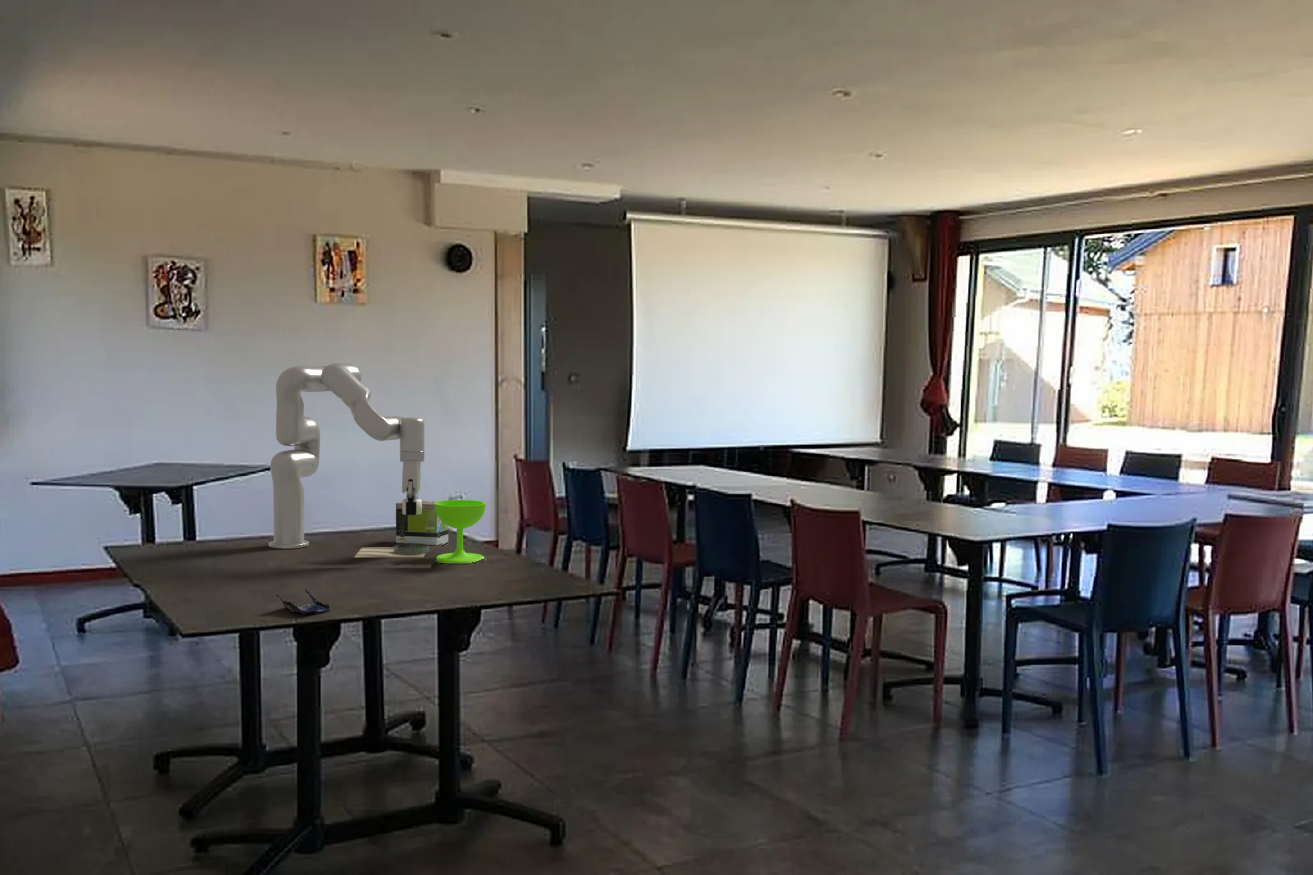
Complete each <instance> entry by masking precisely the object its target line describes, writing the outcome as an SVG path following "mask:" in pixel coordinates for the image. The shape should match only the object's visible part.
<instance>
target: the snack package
mask: <svg viewBox="0 0 1313 875" xmlns="http://www.w3.org/2000/svg"><path fill="white" fill-rule="evenodd" d="M303 590H304V589H302V591H303ZM304 591H305V593H306V594H308V596H309V598H310V600H311V601H312V603H308V604H305V605H302V606H297V605H295V601H293V602H292V601H286V600H283V599H282V598H281V596H280V595H279V594H277V593H276V594H275V595H276V596H275V597H277V599H278V600H279V602H280V604H282V606H283V607H284V609H288V610H289V611H292V612H294V613H302V615H305V614H307V613H314V614H315V615H319V614H325V613H326V612H329V611H331V608H330V605H329V604H323V603H322V602H320V601H318V600H317V598H316V597H315V596H314V595H313V593H312V592H310V590H309V589H308V588H305V590H304ZM289 597H290V598H292V596H291V595H290V596H289Z"/></svg>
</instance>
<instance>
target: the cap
mask: <svg viewBox="0 0 1313 875" xmlns="http://www.w3.org/2000/svg"><path fill="white" fill-rule="evenodd" d="M422 501H423V499H422V498H419V497H418V498H416V501H415V502H416V515H419V514H422ZM402 502H403V514H404V515H406V498H403V499H402Z"/></svg>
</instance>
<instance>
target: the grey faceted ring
mask: <svg viewBox="0 0 1313 875" xmlns="http://www.w3.org/2000/svg"><path fill="white" fill-rule="evenodd" d="M393 547H394V553H396V554H401V555H419V554H425V555H426V554H429V552H430V550H429V549H430V545H427V544H421V543H397V544H395V545H394V546H393Z"/></svg>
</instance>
